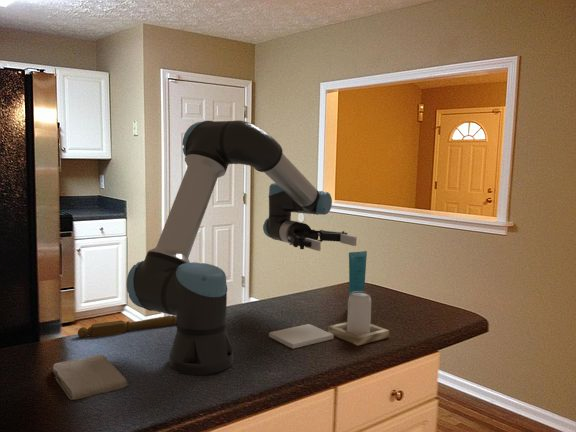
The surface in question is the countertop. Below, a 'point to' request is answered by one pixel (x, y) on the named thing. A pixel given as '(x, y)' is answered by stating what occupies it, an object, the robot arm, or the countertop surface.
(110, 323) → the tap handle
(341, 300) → the countertop surface
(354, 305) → the can
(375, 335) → the holder
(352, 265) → the tube
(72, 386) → the washcloth
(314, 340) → the trivet
